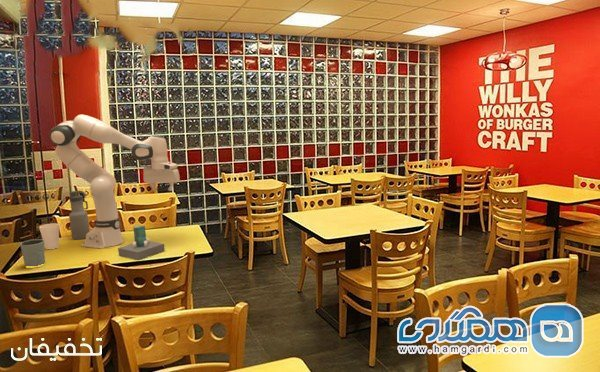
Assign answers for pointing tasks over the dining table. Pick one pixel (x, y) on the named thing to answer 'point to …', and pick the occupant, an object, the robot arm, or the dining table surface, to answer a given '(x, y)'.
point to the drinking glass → (33, 252)
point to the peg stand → (141, 250)
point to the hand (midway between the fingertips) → (162, 190)
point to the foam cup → (50, 235)
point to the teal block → (139, 235)
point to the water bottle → (78, 215)
